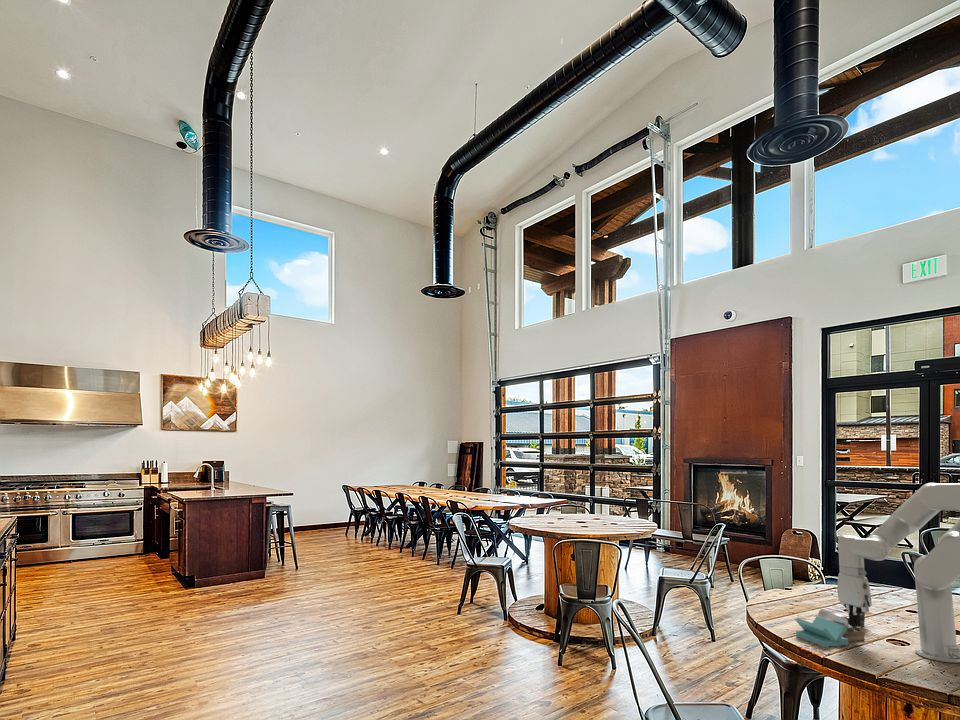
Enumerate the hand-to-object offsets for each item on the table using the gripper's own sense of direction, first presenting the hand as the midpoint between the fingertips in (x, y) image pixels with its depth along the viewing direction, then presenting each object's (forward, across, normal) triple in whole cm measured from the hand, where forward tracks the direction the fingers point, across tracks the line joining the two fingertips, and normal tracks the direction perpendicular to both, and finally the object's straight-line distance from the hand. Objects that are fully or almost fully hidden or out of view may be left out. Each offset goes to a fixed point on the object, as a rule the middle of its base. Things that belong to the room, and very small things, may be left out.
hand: (855, 625), depth 208 cm
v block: (+6, +4, +11) cm, 13 cm away
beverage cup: (+6, +16, -18) cm, 25 cm away
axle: (+2, +8, 0) cm, 8 cm away
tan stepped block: (+5, +6, 0) cm, 8 cm away
